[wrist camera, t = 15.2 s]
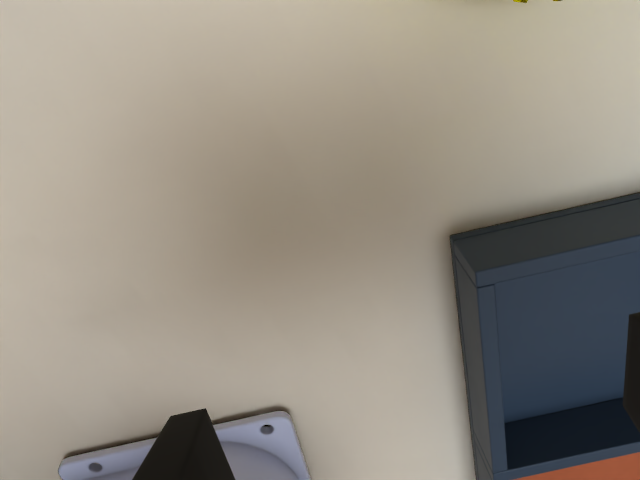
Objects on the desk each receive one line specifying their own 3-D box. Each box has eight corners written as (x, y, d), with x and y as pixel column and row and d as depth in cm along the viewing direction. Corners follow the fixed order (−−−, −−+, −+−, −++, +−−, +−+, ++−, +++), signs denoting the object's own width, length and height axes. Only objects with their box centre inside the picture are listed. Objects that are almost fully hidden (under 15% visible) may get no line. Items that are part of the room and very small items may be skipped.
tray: (673, 519, 26) (712, 570, 24) (484, 559, 27) (505, 614, 24) (725, 172, 18) (792, 200, 16) (449, 235, 18) (475, 272, 16)
